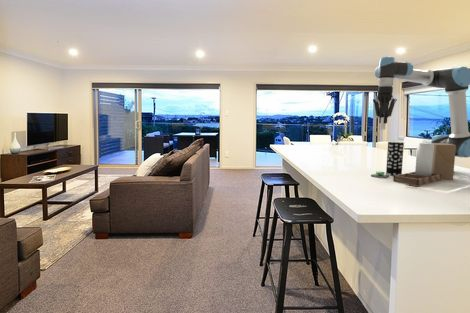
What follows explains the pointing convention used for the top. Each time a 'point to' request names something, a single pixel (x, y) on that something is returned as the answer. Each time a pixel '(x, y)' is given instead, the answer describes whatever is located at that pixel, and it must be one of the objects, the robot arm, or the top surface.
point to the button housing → (379, 176)
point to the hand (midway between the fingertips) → (382, 129)
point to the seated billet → (424, 159)
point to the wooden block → (444, 160)
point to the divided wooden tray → (416, 179)
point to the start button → (380, 172)
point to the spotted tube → (394, 158)
